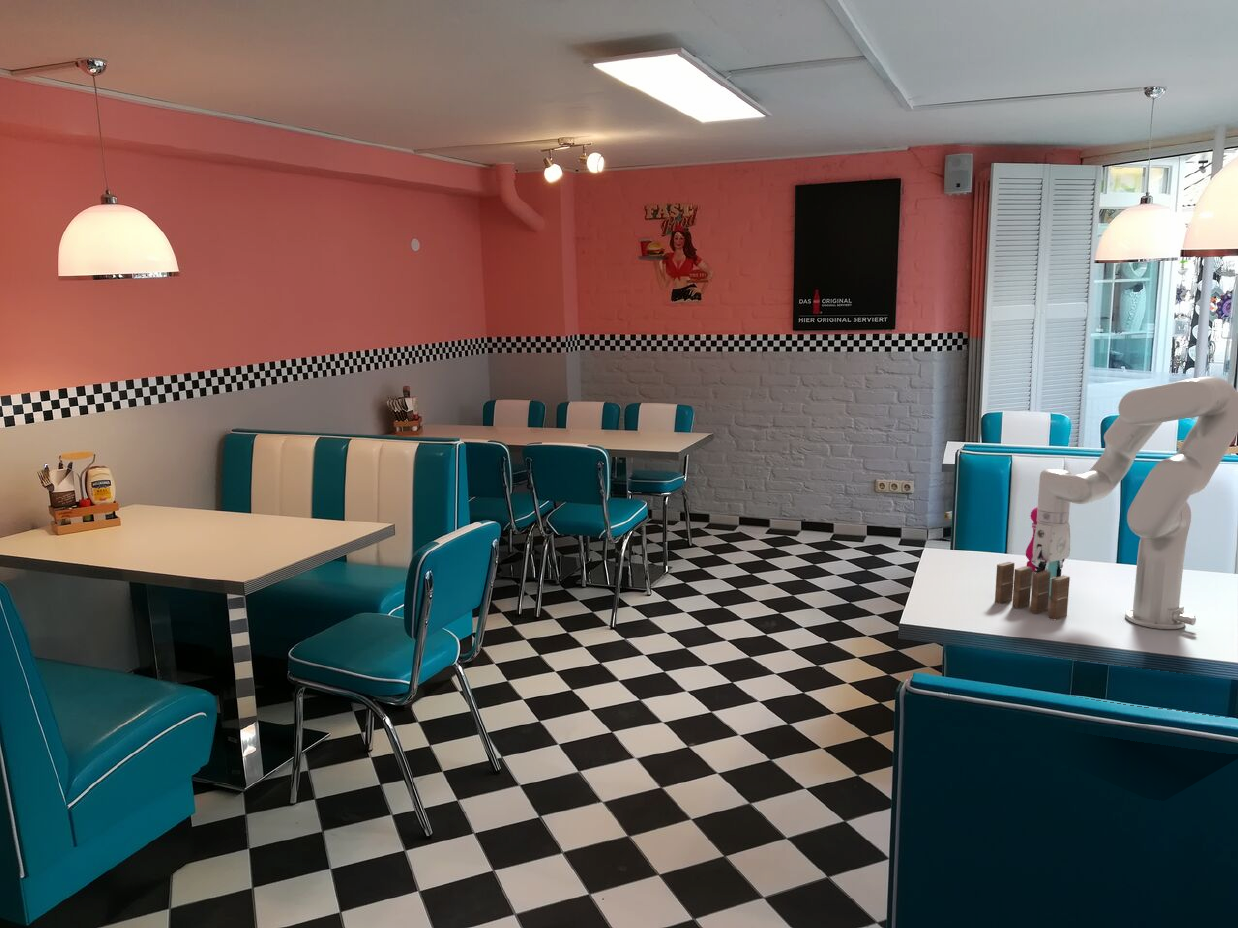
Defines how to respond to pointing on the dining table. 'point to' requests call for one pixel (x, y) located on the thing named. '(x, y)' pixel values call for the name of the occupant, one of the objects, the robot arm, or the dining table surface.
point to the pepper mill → (1030, 547)
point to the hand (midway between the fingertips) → (1047, 583)
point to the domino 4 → (1052, 572)
